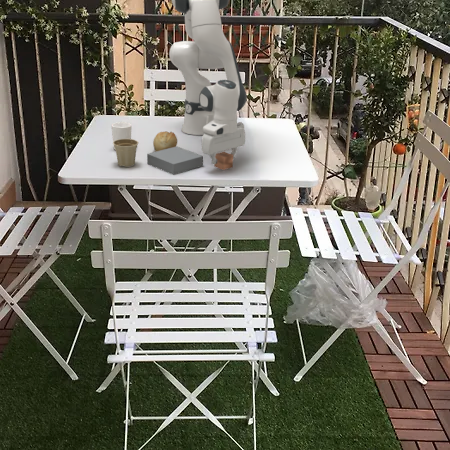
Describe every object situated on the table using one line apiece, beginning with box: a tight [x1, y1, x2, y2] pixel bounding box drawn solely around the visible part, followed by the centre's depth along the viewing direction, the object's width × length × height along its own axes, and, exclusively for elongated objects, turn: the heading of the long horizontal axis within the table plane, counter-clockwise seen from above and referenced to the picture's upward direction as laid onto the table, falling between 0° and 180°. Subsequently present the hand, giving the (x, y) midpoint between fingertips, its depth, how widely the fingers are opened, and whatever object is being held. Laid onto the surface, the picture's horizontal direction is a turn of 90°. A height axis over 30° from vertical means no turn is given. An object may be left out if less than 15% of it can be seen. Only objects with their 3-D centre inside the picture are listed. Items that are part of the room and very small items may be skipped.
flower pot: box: [112, 138, 139, 168], centre depth 220 cm, size 9×9×9 cm
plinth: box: [146, 145, 204, 175], centre depth 223 cm, size 15×15×4 cm
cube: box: [213, 151, 234, 171], centre depth 223 cm, size 5×5×5 cm
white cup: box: [111, 121, 132, 151], centre depth 236 cm, size 8×8×10 cm
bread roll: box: [152, 131, 178, 152], centre depth 237 cm, size 10×15×8 cm, turn 3°
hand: (223, 161), depth 223 cm, fingers open, 8 cm apart
